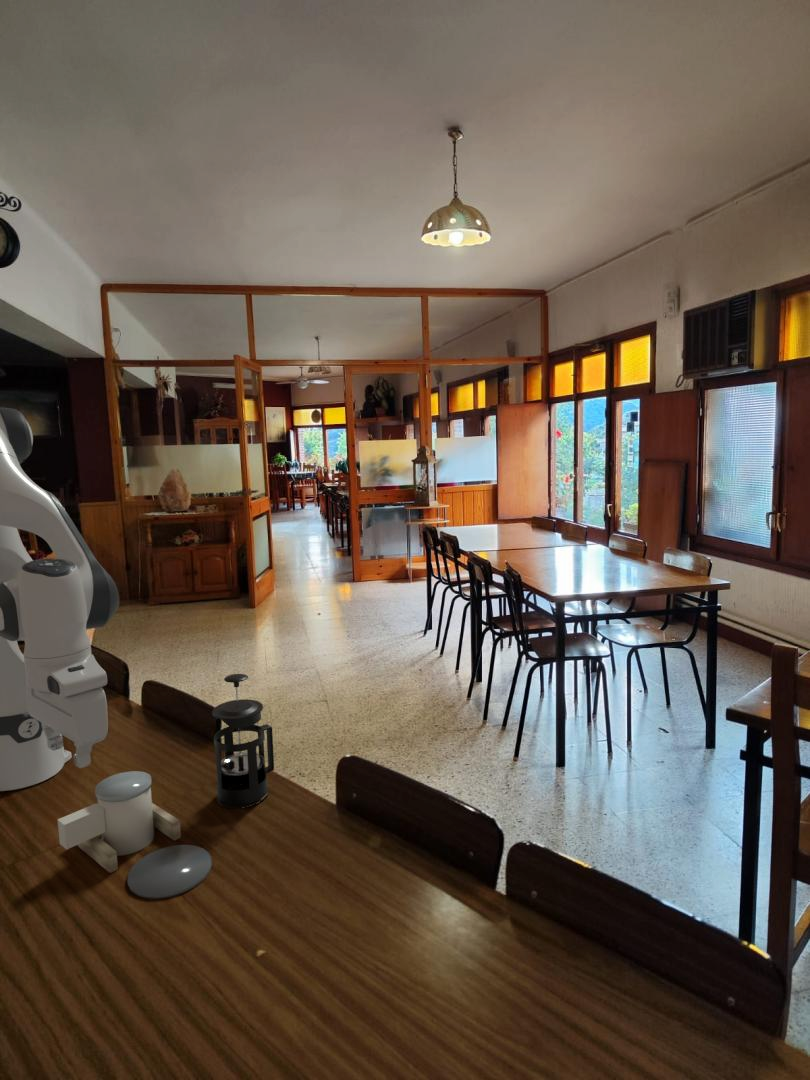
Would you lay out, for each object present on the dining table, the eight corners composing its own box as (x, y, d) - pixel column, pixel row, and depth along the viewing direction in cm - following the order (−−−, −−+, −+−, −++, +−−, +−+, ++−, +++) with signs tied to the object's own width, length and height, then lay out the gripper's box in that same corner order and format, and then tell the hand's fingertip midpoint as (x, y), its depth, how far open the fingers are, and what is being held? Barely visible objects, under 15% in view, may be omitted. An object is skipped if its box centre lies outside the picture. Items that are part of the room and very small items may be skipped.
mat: (112, 875, 99) (112, 872, 99) (184, 839, 108) (184, 836, 108) (154, 910, 92) (153, 906, 92) (227, 868, 101) (227, 864, 101)
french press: (228, 816, 115) (220, 690, 112) (204, 796, 122) (196, 677, 119) (286, 792, 123) (280, 673, 120) (260, 774, 130) (254, 662, 127)
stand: (75, 844, 108) (73, 826, 107) (144, 812, 117) (142, 796, 116) (110, 873, 100) (108, 854, 100) (181, 837, 109) (179, 820, 109)
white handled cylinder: (139, 820, 114) (135, 766, 113) (165, 838, 109) (161, 781, 107) (53, 860, 104) (48, 800, 102) (77, 882, 98) (71, 819, 97)
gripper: (10, 661, 102) (19, 745, 104) (66, 688, 89) (76, 785, 91) (52, 651, 107) (61, 732, 109) (112, 676, 94) (121, 767, 96)
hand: (68, 756), depth 100 cm, fingers open, 8 cm apart
